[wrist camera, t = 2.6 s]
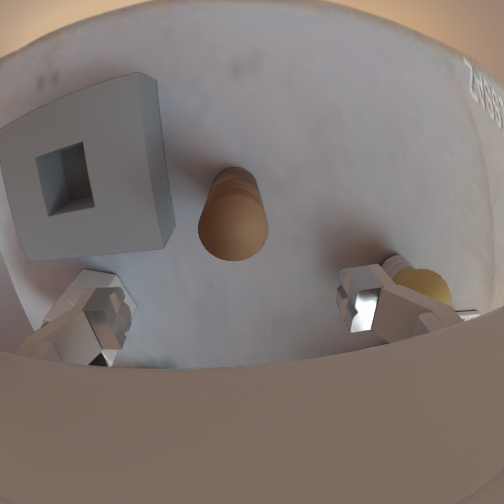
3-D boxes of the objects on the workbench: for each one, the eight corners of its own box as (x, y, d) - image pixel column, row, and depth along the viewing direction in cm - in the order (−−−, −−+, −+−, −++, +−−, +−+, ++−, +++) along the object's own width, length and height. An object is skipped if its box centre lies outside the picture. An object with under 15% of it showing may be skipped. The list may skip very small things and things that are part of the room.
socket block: (156, 80, 20) (137, 71, 15) (175, 225, 26) (163, 248, 22) (25, 125, 20) (-4, 130, 15) (50, 242, 26) (27, 262, 22)
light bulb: (406, 287, 31) (447, 339, 22) (363, 292, 31) (398, 352, 22) (418, 241, 28) (469, 287, 19) (372, 242, 28) (420, 295, 19)
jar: (135, 275, 28) (94, 355, 18) (139, 330, 32) (113, 408, 21) (68, 263, 27) (13, 328, 17) (79, 317, 31) (40, 384, 20)
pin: (255, 165, 24) (266, 193, 15) (258, 207, 26) (269, 258, 17) (210, 169, 24) (193, 200, 15) (215, 211, 26) (203, 263, 17)
